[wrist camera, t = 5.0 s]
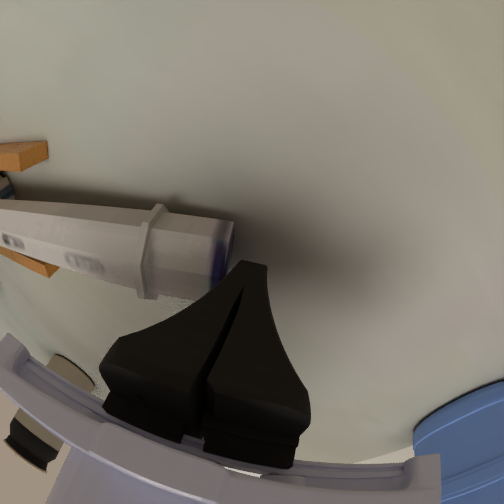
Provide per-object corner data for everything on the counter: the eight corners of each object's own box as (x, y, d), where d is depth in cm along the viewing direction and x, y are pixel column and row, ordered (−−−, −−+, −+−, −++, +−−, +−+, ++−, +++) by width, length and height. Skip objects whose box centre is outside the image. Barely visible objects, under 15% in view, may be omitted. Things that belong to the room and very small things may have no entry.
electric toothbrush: (217, 337, 12) (-53, 255, 12) (234, 254, 18) (-11, 216, 17) (225, 241, 9) (-70, 201, 9) (243, 177, 15) (-22, 168, 15)
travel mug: (73, 379, 36) (29, 457, 21) (46, 348, 32) (-7, 432, 17) (103, 392, 34) (57, 481, 19) (75, 360, 30) (17, 459, 15)
